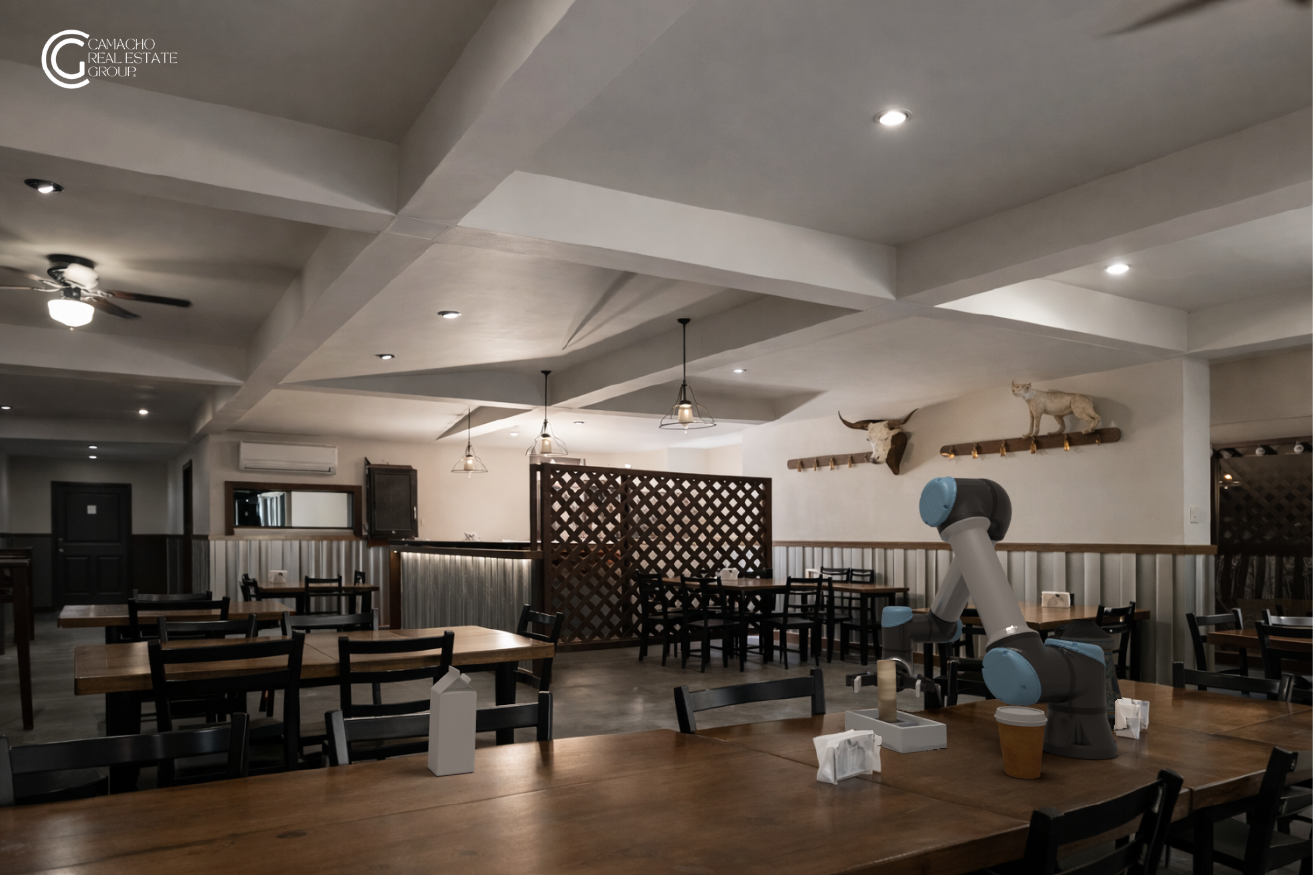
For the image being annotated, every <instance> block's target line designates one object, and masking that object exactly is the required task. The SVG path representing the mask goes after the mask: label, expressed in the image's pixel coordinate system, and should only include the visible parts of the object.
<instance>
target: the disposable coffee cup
mask: <svg viewBox="0 0 1313 875" xmlns="http://www.w3.org/2000/svg"><path fill="white" fill-rule="evenodd" d="M994 719H995V720H996V722H997V723H996V724H997V730H998V737H999V742H1000V751H1001V756H1002V763H1003V768H1004V774H1005V775H1007V776H1009V777H1013V778H1016V779H1023V780H1024V779H1025V780H1029V779H1031V780H1032V779H1038V778H1040V777H1041V770H1042V760H1043V751H1044V750H1043V740H1044V730H1045V725H1046V722H1047V718H1046V713H1045V711H1044V710H1041V709H1038V708H1033V707H1029V706H1016V705H1009V706H999V707H997V708H996V711H995V713H994Z"/></svg>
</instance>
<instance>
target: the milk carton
mask: <svg viewBox="0 0 1313 875" xmlns="http://www.w3.org/2000/svg"><path fill="white" fill-rule="evenodd" d="M471 682H472V679H471V677H469V676H468V675H466V674H465V673H461V675H460V670H459V669H457V668H455V667H453V666H452V665H448V672H446V674H445V675H443V676H442V677H441V678H440V679H439V680H438V681H437V682H436V683H434V685H432V686H431V687H430V699H429V700H430V702H429V704H430V705H429V728H428V729H429V730H428V751H427V752H428V755H427V757H428V758H427V760H428V761H427V769H429V770H430V771H431V772H432V773H433V774H434V775H435V776H437V777H438V776H439V777H440V776H446V775H447V776H449V775H457V774H458V775H459V774H467V773H474V772H475V760H476V759H475V758H476V757H475V754H476V729H477V728H476V724H477V722H476V720H477V696H478V695H477V694H478V693H477V690H476V689H475V688H473V687H472V686H471V685H470V684H469V683H471Z"/></svg>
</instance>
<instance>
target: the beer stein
mask: <svg viewBox="0 0 1313 875" xmlns="http://www.w3.org/2000/svg"><path fill="white" fill-rule="evenodd" d="M1054 628H1055V629H1054V630H1053V634H1049V636H1047V638H1044V641H1045V640H1046V639H1057V640H1064V641H1072V642H1079V643H1086V644H1092V645H1097V646H1099V647H1101V648H1102V650H1103V652H1104V661H1105V664H1106V667H1105V676H1106V712H1107V719H1108V722H1109V724H1110V727H1111V730H1112V731H1114V730H1113V729H1114V725H1115V701H1116V700H1117V699H1122V700H1123V696H1122V693H1121V690H1120V686H1119V681H1118V678H1117V672H1116V666H1115V661H1114V655H1113V648H1114V647H1115V639H1114V638H1113V637H1112V636H1111V635H1110V634H1109V633H1108V632H1106V630H1103V629H1102V628H1101V627H1100V626H1099V625H1098V624H1097V623H1096V621H1095V619H1088V618H1087V619H1085V618H1084V619H1083V618H1074V619H1072V620H1071V622H1069V623H1063V624H1062V623H1061V624H1058V625H1057V626H1056V627H1054ZM1043 644H1045V642H1044V643H1043Z"/></svg>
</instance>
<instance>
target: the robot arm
mask: <svg viewBox="0 0 1313 875" xmlns="http://www.w3.org/2000/svg"><path fill="white" fill-rule="evenodd" d="M918 509H919V515H920V519H921V521H923V523H924V524H925V525H926V526H929V527H930V528H936V529H937V532H938V535H939V537H940V540H941V542H942V541H943V542H944V543H947V544H949V545H950V547H951V550H952V552H953V554H954V556H953V558H952V561H951V562H950V564H949V566H948V569H947V571H946V573H945V575H944V577H943V579H942V582H941V584H940V585H939V587H938V590H937V591H936V594H935V596H934V599H933V601H932V603H931V605H930V607H929V609H928V611H927V612H926V613H913V610H912V608H911V607H910V606H901V605H899V606H894V605H891V606H890V605H888V606H885V607H883V609H882V613H881V614H882V615H881V623H880V624H881V635H882V636H881V637H882V646H881V648H882V651H881V653H882V656H881V660H892V661H895V667H896V694H898V693H901V692H903V691H904V690H905V689H906V690H907V689H912V690H915V697H916V698H920V697H921V694H922V693H926V692H927V691H928V692H931V693H935V692H936V681H935V680H934V679H930V678H929V677H926V676H923V674H921V673H917V674H915V675H914V673H915V664H914V659H913V657H914V654H913V652H914V650H913V649H914V648H913V647H914V644H947V643H951V642H956V641H957V640H959V639H960V638H961V637H962V633H963V631H962V629H963V622H962V620H961V618H960V617H961V615H962V614H963V611H964V609H965V607H966V605H967V603H968V601H969V599H970V597H971V599H972V602H973V605H974V606H975V609H976V612H977V614H978V616H979V619H980V621H981V625H982V626H983V628H984V631H985V634H986V637H987V639H988V640H987V643H986V644H985V646H984V651H985V655H984V657H983V660H982V666H983V668H981V673H982V678H983V681H984V683H985V686H986V687H987V689H988V690H989V692H990V693H991V694H992V695H993V696H994V697H995V698H996V699H997V700H998V701H1000V702H1002V703H1004V704H1007V705H1009V706H1019V707H1029V706H1032V705H1042V704H1043V705H1044V704H1046V713H1045V717H1046V718H1047V722H1046V725H1045V730H1044V740H1043V751H1045V752H1047V753H1049V754H1053V755H1057V756H1063V757H1068V758H1073V759H1074V758H1075V759H1076V758H1077V759H1085V760H1086V759H1087V760H1089V759H1090V760H1104V759H1105V760H1106V759H1113V758H1115V757H1118V744H1117V741H1116V740H1115V738H1114V734H1113V730H1111V727H1110V724H1109V722H1108V719H1107V712H1106V676H1105V667H1106V664H1105V661H1104V652H1103V650H1102V648H1101V647H1099V646H1097V645H1092V644H1086V643H1079V642H1072V641H1064V640H1057V639H1047V638H1045V639H1046V640H1045V639H1044V643H1045V644H1044V643H1043V640H1042V637H1041V636H1040V633H1039V632H1038V631H1037V630H1034V629H1032V628H1030V627H1029V626H1028V623H1027V622H1026V620H1025V617H1024V615H1023V613H1022V611H1021V610H1022V609H1021V608H1020V605H1019V603H1018V601H1017V598H1016V595H1015V594H1014V592H1013V589H1012V586H1011V585H1010V582H1009V580H1008V577H1007V575H1006V573H1005V570H1004V568H1003V566H1002V563H1001V562H1000V559H999V556H998V554H997V551H996V550H995V547H996V545H997V543H998V542H1002V541H1003V540H1004V538H1005V537H1006V535H1007V533H1008V531H1009V528H1010V525H1011V521H1012V518H1013V517H1012V515H1013V508H1012V502H1011V499H1010V496H1009V494H1008V492H1007V491H1006V489H1005V488H1004V487H1003V486H1002V485H1001V484H1000V483H998V482H997V481H995V480H993V479H990V478H983V477H980V478H979V477H978V478H974V477H973V478H972V477H971V478H970V477H953V476H942V477H941V476H939V477H934V478H933V479H931V480H929V481H928V482H927V483H926V485H924V487H923V488H922V490H921V494H920V498H919V502H918ZM872 686H873V687H877V688H878V677H877V671H873V673H871V672H870V671H869V670H862V671H861V672H855V673H851V674H850V673H849V674H845V687H851V688H852V690H853V693H854V694H858V693H859V692H860V690H862V688H864V687H872Z"/></svg>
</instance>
